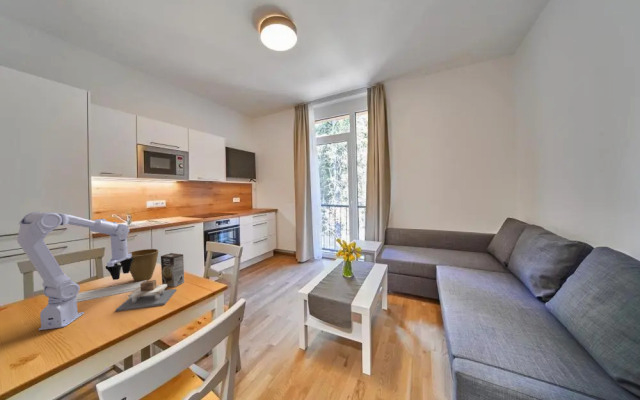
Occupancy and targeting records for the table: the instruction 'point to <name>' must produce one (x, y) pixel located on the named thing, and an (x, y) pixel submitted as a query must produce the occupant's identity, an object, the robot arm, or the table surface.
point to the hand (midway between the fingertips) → (121, 276)
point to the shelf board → (144, 293)
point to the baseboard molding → (107, 291)
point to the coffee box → (172, 269)
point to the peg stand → (147, 300)
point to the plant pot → (143, 264)
